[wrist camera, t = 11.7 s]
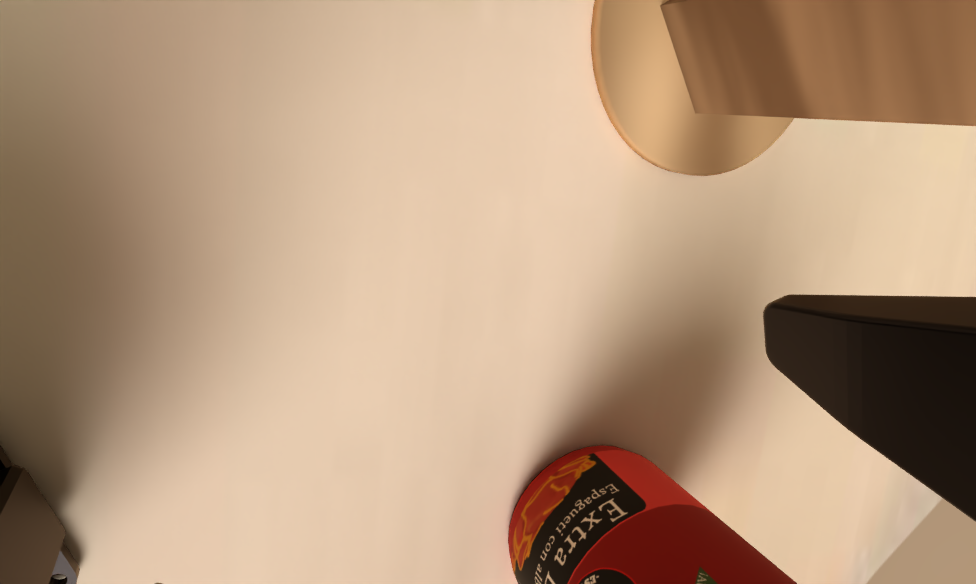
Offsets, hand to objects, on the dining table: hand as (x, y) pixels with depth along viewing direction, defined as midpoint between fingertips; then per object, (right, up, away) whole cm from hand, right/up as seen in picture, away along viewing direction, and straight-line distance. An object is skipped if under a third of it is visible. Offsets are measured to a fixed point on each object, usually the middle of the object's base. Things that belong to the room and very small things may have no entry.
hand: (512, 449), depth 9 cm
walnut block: (+8, +11, +14) cm, 20 cm away
